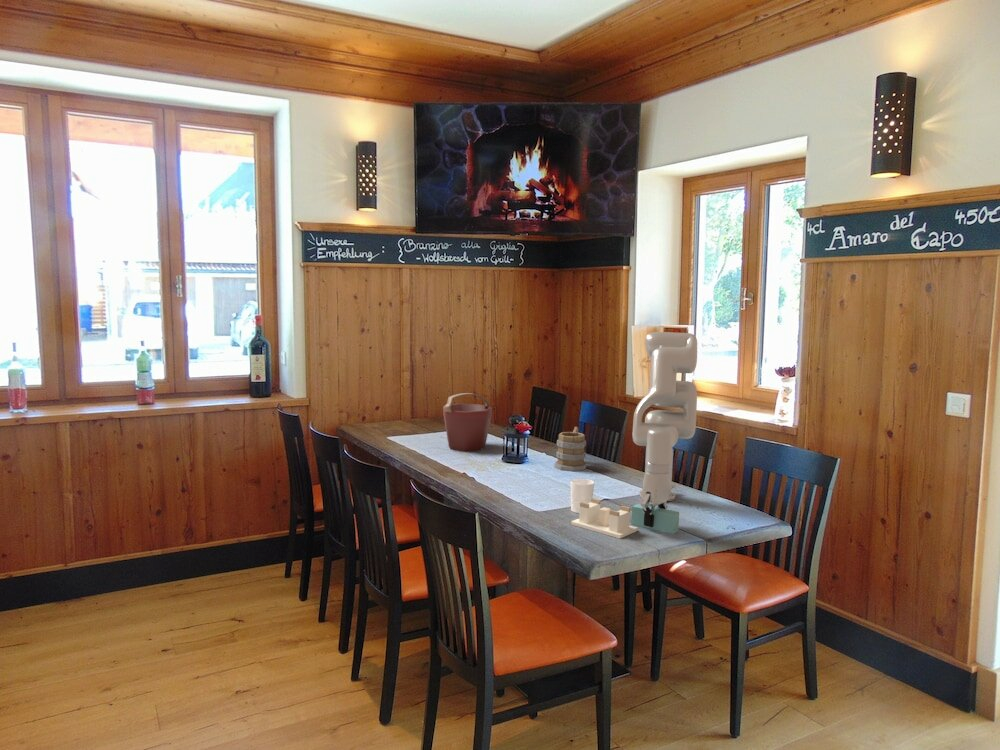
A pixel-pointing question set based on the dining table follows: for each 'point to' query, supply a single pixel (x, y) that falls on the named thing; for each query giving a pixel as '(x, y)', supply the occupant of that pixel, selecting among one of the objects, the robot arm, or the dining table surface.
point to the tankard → (571, 451)
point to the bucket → (467, 424)
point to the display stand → (604, 519)
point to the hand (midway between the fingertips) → (654, 522)
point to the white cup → (581, 493)
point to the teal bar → (657, 519)
